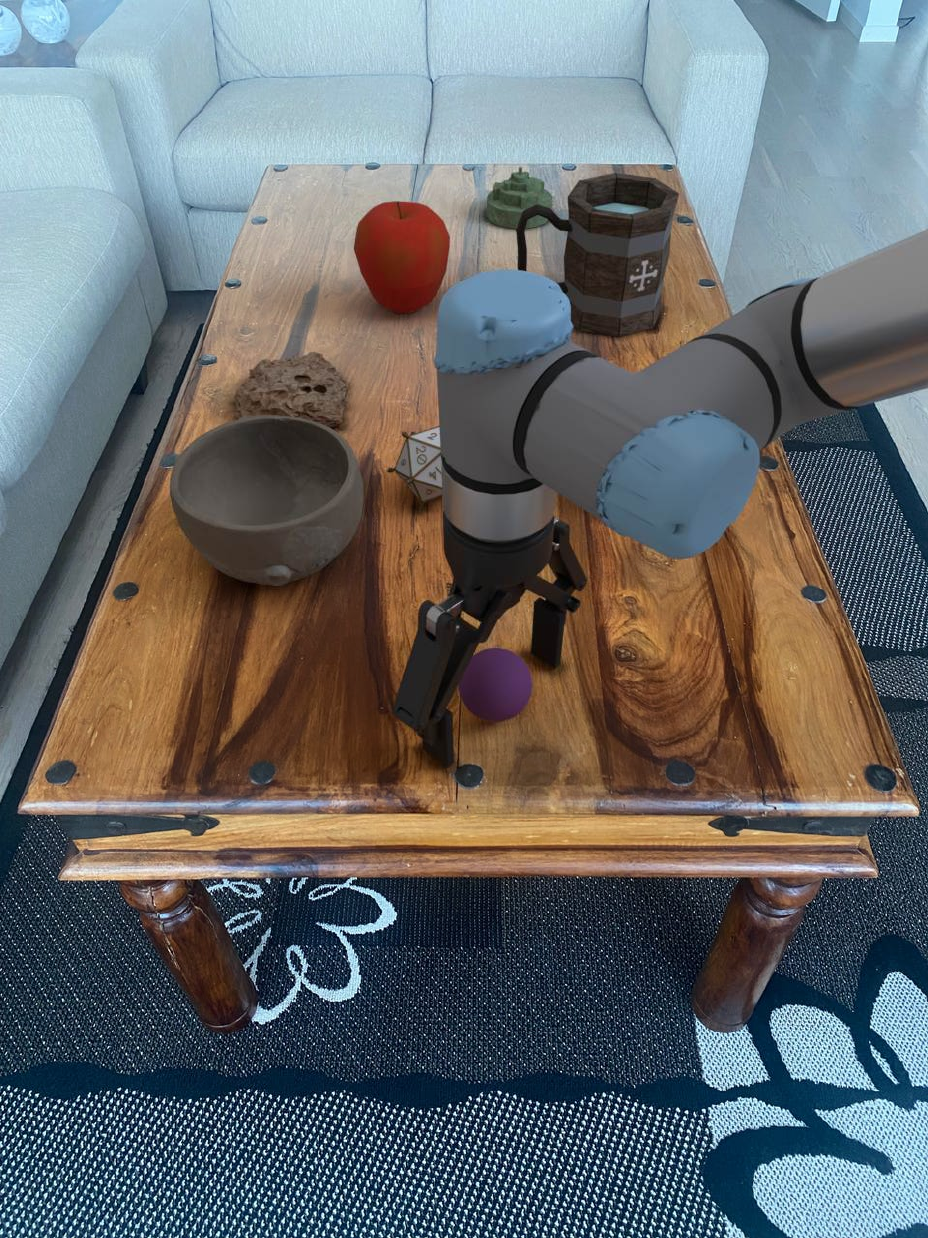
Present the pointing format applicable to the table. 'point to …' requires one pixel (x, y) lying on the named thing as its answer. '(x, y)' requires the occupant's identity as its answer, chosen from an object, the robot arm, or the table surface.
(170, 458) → the table surface
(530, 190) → the decorative artifact
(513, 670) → the plum ball
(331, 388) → the rock
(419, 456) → the game die
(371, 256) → the apple
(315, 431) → the bowl
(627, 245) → the mug
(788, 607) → the table surface
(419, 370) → the table surface
